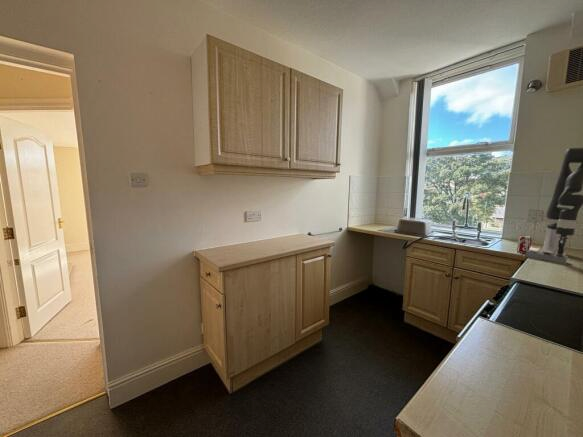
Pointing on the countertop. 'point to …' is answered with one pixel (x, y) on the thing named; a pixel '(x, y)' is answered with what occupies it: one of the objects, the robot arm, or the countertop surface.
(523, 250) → the soda can
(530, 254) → the power strip
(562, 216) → the robot arm
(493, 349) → the countertop surface
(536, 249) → the rocker
